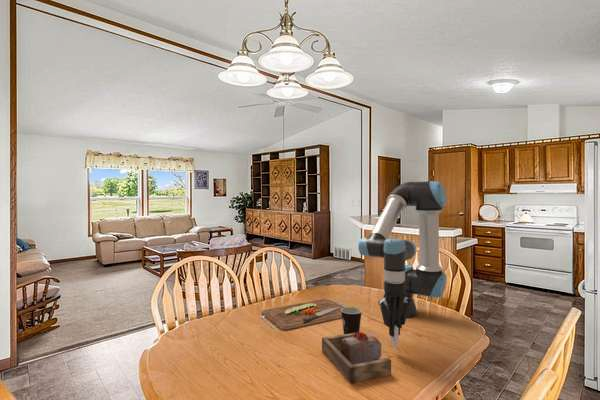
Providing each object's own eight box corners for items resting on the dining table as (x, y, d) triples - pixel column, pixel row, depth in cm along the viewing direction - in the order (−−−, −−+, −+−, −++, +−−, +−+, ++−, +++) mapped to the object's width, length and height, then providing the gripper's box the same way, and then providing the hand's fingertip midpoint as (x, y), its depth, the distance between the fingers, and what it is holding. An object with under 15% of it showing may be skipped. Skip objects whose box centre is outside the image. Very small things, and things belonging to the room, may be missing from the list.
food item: (369, 351, 127) (369, 326, 127) (383, 361, 120) (383, 334, 120) (338, 359, 122) (338, 332, 121) (351, 370, 114) (351, 341, 114)
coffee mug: (361, 338, 138) (361, 314, 138) (340, 337, 140) (340, 313, 140) (362, 327, 150) (362, 305, 150) (342, 326, 152) (342, 304, 151)
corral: (357, 344, 133) (357, 332, 133) (391, 374, 111) (391, 359, 111) (322, 351, 128) (322, 338, 128) (350, 383, 106) (350, 367, 106)
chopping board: (330, 299, 190) (330, 294, 190) (361, 315, 166) (361, 309, 166) (255, 314, 168) (255, 308, 168) (277, 334, 145) (277, 327, 145)
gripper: (403, 276, 130) (403, 337, 131) (373, 280, 126) (373, 342, 127) (415, 281, 123) (415, 345, 124) (384, 285, 119) (385, 351, 120)
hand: (394, 344), depth 125 cm, fingers closed
